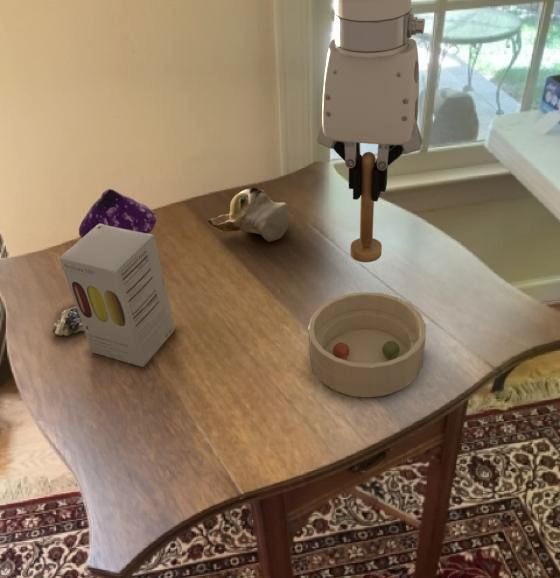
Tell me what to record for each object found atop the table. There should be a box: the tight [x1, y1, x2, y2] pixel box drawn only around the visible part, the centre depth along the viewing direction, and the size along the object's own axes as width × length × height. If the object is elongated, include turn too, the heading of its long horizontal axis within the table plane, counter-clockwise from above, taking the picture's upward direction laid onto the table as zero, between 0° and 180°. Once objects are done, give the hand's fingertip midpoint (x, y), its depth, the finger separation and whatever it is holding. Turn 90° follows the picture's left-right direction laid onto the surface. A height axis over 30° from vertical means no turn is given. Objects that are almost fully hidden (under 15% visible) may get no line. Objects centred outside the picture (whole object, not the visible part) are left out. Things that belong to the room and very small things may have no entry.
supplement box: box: [59, 224, 176, 368], centre depth 92 cm, size 10×9×17 cm
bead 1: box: [333, 343, 350, 360], centre depth 91 cm, size 2×2×2 cm
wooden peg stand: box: [349, 151, 383, 263], centre depth 80 cm, size 4×4×14 cm
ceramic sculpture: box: [206, 186, 290, 242], centre depth 115 cm, size 11×9×15 cm
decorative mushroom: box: [78, 188, 157, 239], centre depth 106 cm, size 12×12×15 cm
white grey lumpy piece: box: [51, 305, 85, 337], centre depth 102 cm, size 7×8×2 cm
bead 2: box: [382, 341, 400, 359], centre depth 90 cm, size 2×2×2 cm
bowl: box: [307, 291, 427, 398], centre depth 90 cm, size 15×15×6 cm
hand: (367, 194), depth 79 cm, fingers closed on wooden peg stand, 1 cm apart
